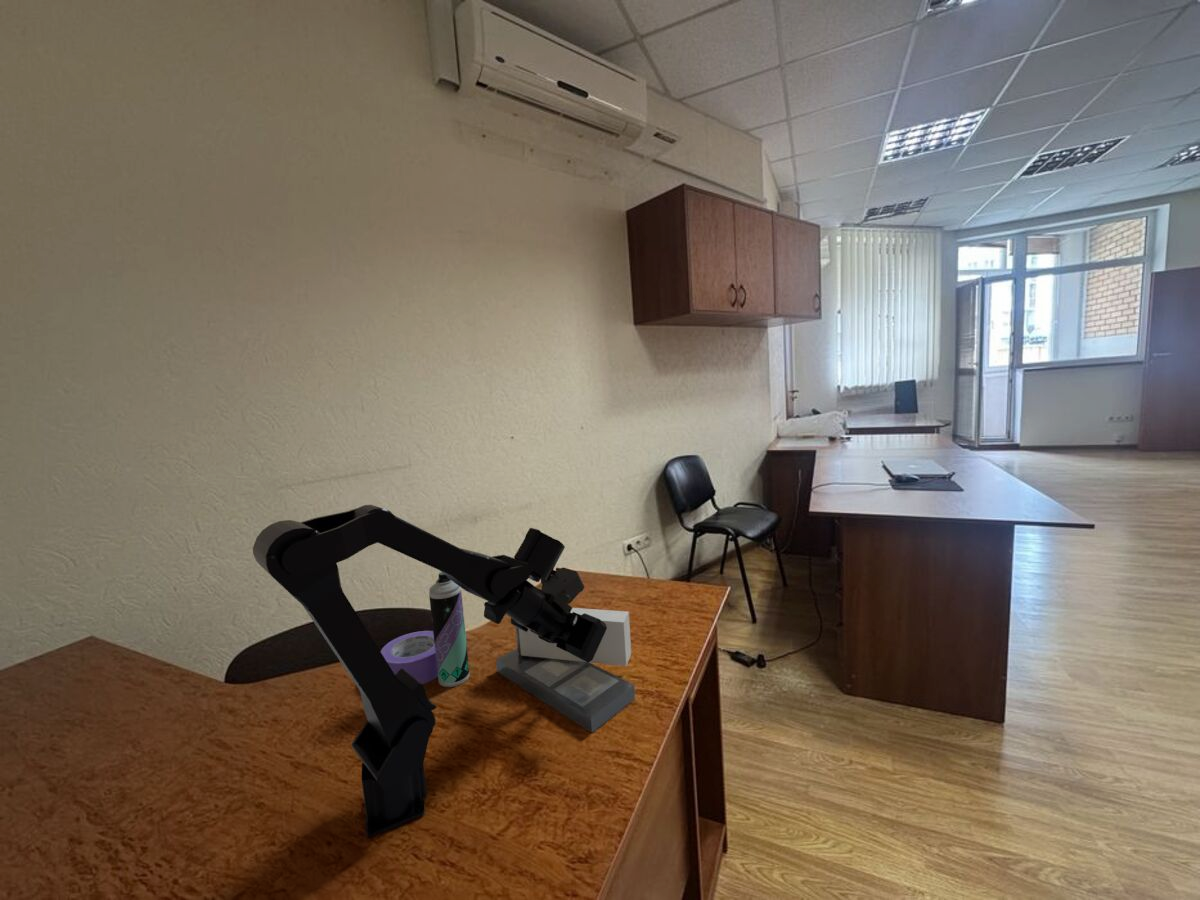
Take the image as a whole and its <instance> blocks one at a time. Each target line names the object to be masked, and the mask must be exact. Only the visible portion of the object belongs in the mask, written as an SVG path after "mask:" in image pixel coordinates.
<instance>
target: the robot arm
mask: <svg viewBox="0 0 1200 900" xmlns="http://www.w3.org/2000/svg"><path fill="white" fill-rule="evenodd" d="M375 544H380V545H383V546H384V547H386V548H389V549H391V550H393V551H396V552H398V553H400V554H403V555H405V556H407V557H409V558H411V559H414V560H416V561H417V562H418V561H419V562H420V563H423V564H425V565H428V566H429V567H432V568H433V569H436V570H438V571H439V572H440V573H441V572H442V573H444V574H445V575H446V576H447V577H448V578H449V579H450V580H452V581H453V582H454V583H456V584H457V585H458V586H460V587H461V590H462V589H463V591H465V592H467V593H469V594H472V595H474V596H477V597H478V598H481V599H482V600H485V602H484V603H483V605H484V610H483V617H484V618H485V619H486V620H488V621H491V622H493V623H494V624H497V625H499V624H501V622H502V621H503V619H504V617H505V616H508V617H510V624H511V625H513V626H514V627H515V626H516V627H517V628H519V629H521V630H523V631H525V632H527V631H528V629H530V631H531V632H533V633H535V634H537V635H538V636H539V638H540V639H542V640H544V641H546V642H548V643H557V645H556V647H558V648H560V649H562V650H564V651H567V652H569V653H570V654H572V655H574V656H576V657H578V658H580V659H582V660H584V661H586V662H589V663H590V661H592V660H593V658H594V655H595V653H596V651H597V649H598V647H599V645H600V642H601V640H602V638H603V636H604V634H605V632H606V629H607V626H606V624H605V623H604V622H603V621H601V620H600V619H598V618H595V617H593V616H590V615H588V614H585V613H584V614H582V615H580V614H577V613H575V612H573V613H570V612H571V610H572V608H573V606H571V605H570V604H571V603H572V602H573V601H574V599H576V598H577V596H578V595H579V594H580V593H582V592H583V591H584V589H585V584H584V583H583V581H582V578H581V576H580V574H579V572H578V571H577V570H574V569H570V568H567V567H556V565H557V563H558V561H559V560H560V557H561V556H562V554H563V552H564V550H565V549H566V547H565V544H564V543H563V542H562V541H560V540H559V539H555V538H554V537H551V536H550V535H548V534H547V533H545V532H544V533H543V532H542V531H541V530H540V529H538V528H533V527H530V528H529V529H528V531H527V532H526V534H525V536H524V539H523V541H522V543H521V544H520V546H519V547H518V549H517V551H516V553H515V555H514V556H513V557H511V556H508V555H506V554H497V555H493V556H491V555H487V554H484V553H481V552H476V551H474V550H469V549H465V548H460V547H458V546H456V545H454V544H452V543H450V542H448V541H446V540H444V539H442V538H440V537H438V536H436V535H434V534H432V533H430V532H428V531H426V530H425V529H422V528H420V527H418V526H416V525H415V524H412V523H411V522H408V521H406V520H404V519H402V518H400V517H398V516H396V515H395V514H394V513H393V512H391V510H389V509H387V508H384V507H380V506H376V505H373V504H365V505H361V506H359V507H356V508H354V509H350V510H347V511H342V512H337V513H332V514H328V515H322V516H317V517H314V518H313V517H312V518H310V519H308V520H304V521H301V522H300V521H298V520H291V519H288V520H287V519H286V520H285V519H284V520H279V521H276V522H273V523H271V524H268V526H266V527H265V528H263V529H262V530H261V532H260V533H259V534H258V535H257V537H256V538H255V541H254V543H253V546H252V555H253V557H254V559H255V561H256V563H257V564H258V565H259V566H261V568H262V569H263V570H264V571H265V572H267V574H269V575H270V577H272V578H273V579H274V580H275V581H276V582H277V583H278V584H279V585H280V586H281V587H283V589H285V590H286V592H288V593H289V594H290V595H291V596H292V597H293V598H294V599H295V600H297V602H298V603H300V604H301V605H302V607H303V608H304V610H305V611H306V613H307V615H308V616H309V617H310V619H311V620H312V621H313V623H314V625H315V626H316V628H317V629H318V630H319V632H320V633H321V635H322V636H323V638H324V640H325V641H326V642H327V644H328V645H329V648H331V650H332V652H333V653H334V654H335V656H336V657H337V659H338V660H339V662H340V663H341V665H342V666H343V668H344V669H345V671H346V672H347V674H348V675H349V677H350V678H351V680H352V681H353V682H354V684H355V686H356V687H357V689H358V690H359V693H360V697H361V703H362V708H363V711H364V714H365V716H366V721H365V723H364V724H363V726H362V728H361V729H360V730H359V732H358V734H357V735H356V737H355V738H354V740H353V741H352V743H351V748H352V750H354V752H355V754H356V755H357V756H358V758H359V759H360V760H361V762H362V763H361V785H362V786H361V787H362V792H363V802H364V809H365V835H366V837H367V838H372V837H373V836H376V835H379V834H382V833H384V832H386V831H389V830H390V829H391V830H392V829H394V828H396V827H398V826H401V825H402V824H403V825H404V824H405V823H408V822H410V821H413V820H416V819H417V818H419V817H422V816H423V815H425V811H426V809H425V803H424V799H426V798H427V796H428V791H427V783H426V782H427V781H426V775H425V768H424V762H425V759H426V754H427V753H426V752H427V749H428V743H429V739H430V737H431V735H432V734H433V730H434V727H435V726H436V717H435V714H434V712H433V711H434V710H436V709H437V705H435V704H434V703H433V702H432V701H431V700H430V699H429V698H428V695H427V693H426V690H425V689H426V688H424V686H423V685H424V684H421V683H420V682H418V681H417V680H416V679H415V678H414V677H412V676H411V675H410V674H409V673H408V672H407V671H405V670H404V669H403V668H401V669H400V670H399V671H398V672H397V673H396V675H395V674H394V673H393V671H392V669H391V668H390V666H389V665H388V663H387V661H386V660H385V658H384V657H383V655H382V653H381V650H380V649H379V646H378V645H377V643H376V642H375V641H374V639H373V637H372V636H371V634H370V632H369V631H368V629H367V628H366V626H365V625H364V623H363V621H362V619H360V617H359V615H358V614H357V613H358V612H356V611H355V608H354V606H353V605H352V604H351V602H350V601H349V599H348V597H347V596H346V594H345V593H344V590H343V587H342V584H341V577H340V571H339V567H338V564H337V563H340V562H343V561H345V560H348V559H349V558H351V557H353V556H354V555H357V554H358V553H359V552H361V551H364V549H366V548H368V547H369V546H372V545H375ZM554 568H555V569H554ZM528 579H529V580H530V581H534V582H536V583H541V589H540V588H538V587H537V586H535V585H534V584H533V583H532V582H530V581H528ZM516 627H515V628H516ZM526 627H527V628H526Z"/></svg>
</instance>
